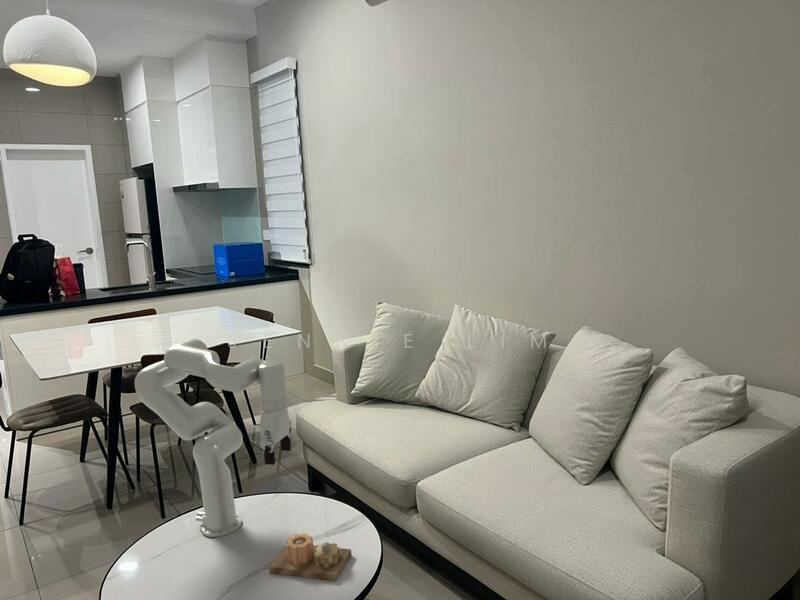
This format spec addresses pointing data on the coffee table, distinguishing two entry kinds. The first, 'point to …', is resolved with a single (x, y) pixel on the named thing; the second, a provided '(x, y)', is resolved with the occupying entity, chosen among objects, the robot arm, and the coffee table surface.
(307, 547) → the loose gear
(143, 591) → the coffee table surface
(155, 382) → the robot arm
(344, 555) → the gear board
